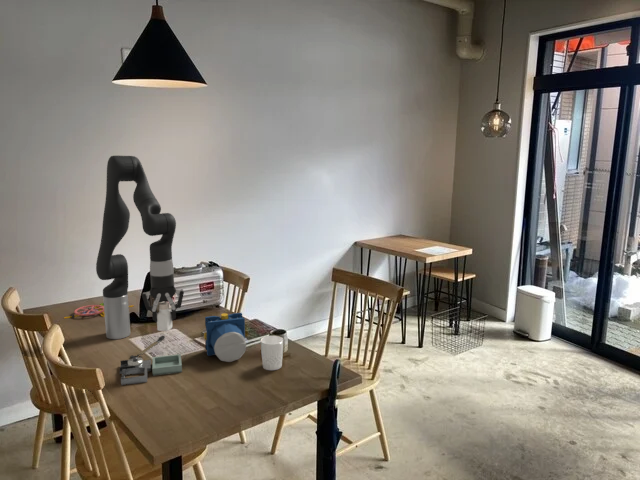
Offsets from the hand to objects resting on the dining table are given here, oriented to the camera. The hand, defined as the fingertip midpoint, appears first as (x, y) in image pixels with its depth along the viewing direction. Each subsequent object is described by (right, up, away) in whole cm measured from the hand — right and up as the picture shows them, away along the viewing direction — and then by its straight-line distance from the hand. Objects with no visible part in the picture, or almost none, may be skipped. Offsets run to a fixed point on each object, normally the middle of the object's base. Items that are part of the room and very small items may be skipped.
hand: (164, 320), depth 176 cm
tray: (0, -17, +3) cm, 18 cm away
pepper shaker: (0, -4, +1) cm, 4 cm away
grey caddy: (-10, -18, -1) cm, 20 cm away
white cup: (+37, -17, +5) cm, 41 cm away
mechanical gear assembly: (-48, -7, +60) cm, 77 cm away
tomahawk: (-11, -15, +20) cm, 27 cm away
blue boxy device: (+19, -16, +14) cm, 28 cm away
